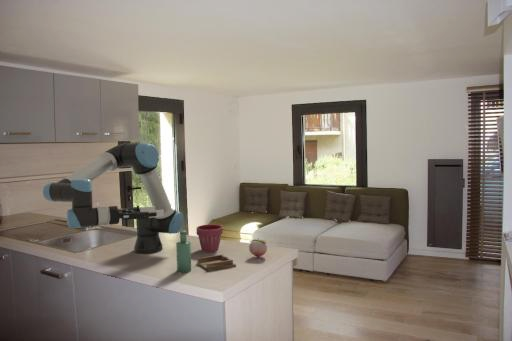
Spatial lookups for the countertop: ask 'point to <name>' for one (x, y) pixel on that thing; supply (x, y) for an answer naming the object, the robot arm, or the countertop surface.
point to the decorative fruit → (258, 247)
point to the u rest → (215, 262)
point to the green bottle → (183, 253)
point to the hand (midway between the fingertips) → (158, 211)
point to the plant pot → (209, 237)
